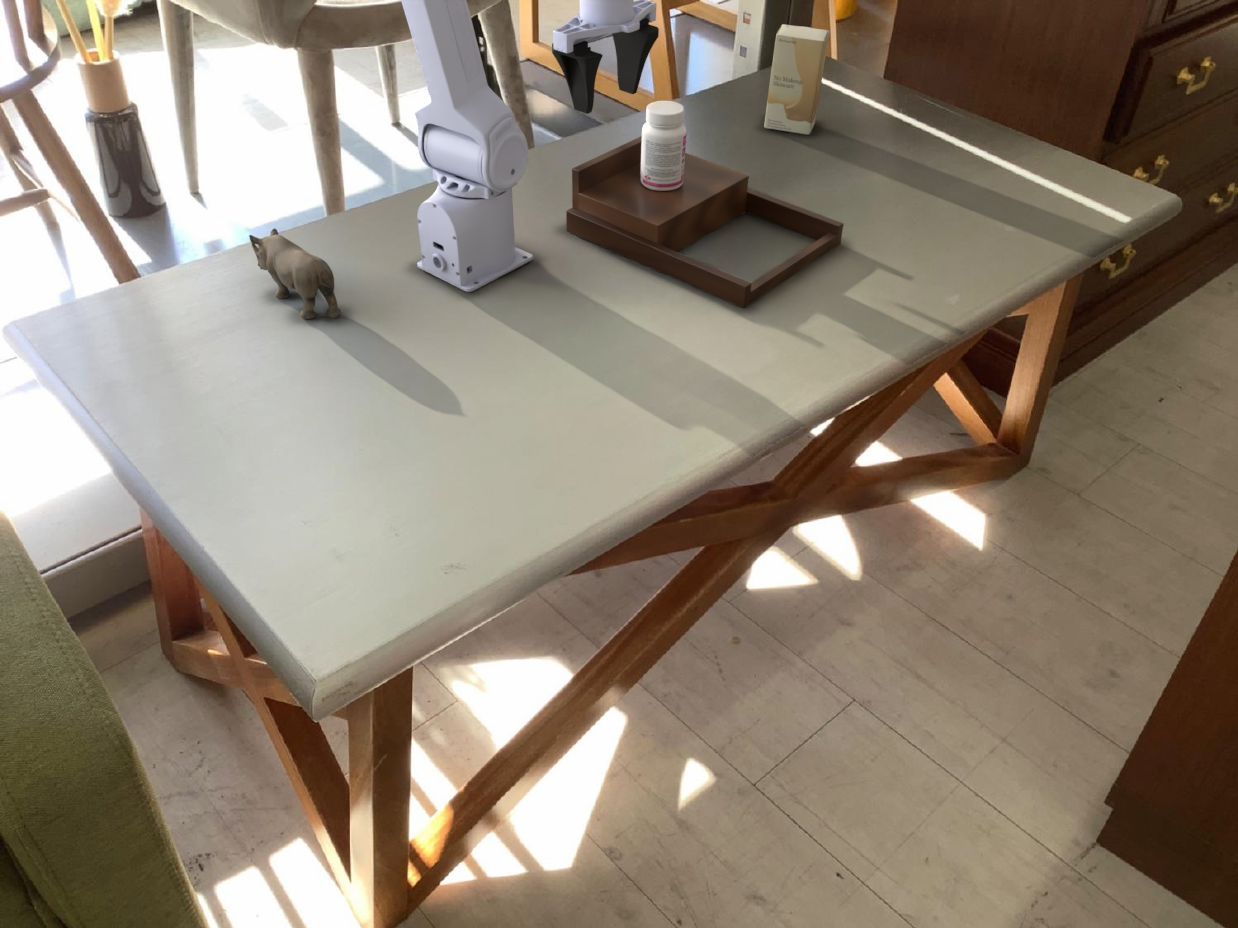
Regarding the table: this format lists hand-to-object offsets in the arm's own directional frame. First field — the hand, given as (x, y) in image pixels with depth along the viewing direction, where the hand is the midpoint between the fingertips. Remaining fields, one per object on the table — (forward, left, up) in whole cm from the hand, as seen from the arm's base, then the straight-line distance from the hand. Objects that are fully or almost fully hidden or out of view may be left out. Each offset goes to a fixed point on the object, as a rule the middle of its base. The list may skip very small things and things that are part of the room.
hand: (605, 101), depth 123 cm
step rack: (-2, -16, -10) cm, 19 cm away
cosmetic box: (+30, -6, -11) cm, 32 cm away
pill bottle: (-2, -10, -6) cm, 12 cm away
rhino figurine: (-39, +7, -11) cm, 41 cm away
